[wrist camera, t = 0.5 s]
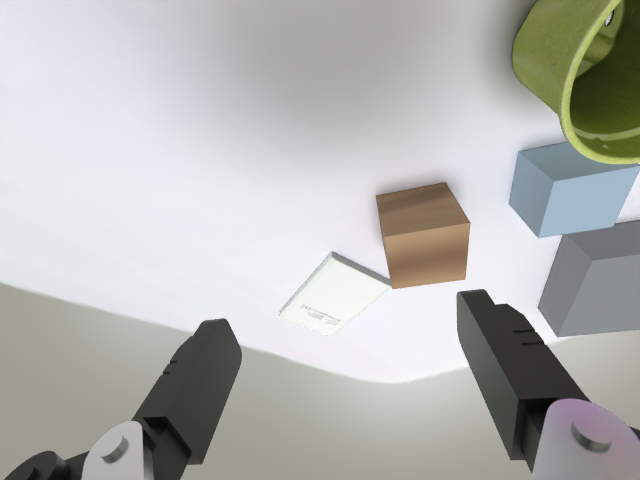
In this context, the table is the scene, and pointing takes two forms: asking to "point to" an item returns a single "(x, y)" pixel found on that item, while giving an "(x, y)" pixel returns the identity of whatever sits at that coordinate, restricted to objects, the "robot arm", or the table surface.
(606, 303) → the base plinth
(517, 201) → the blue cube
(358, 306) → the external hard drive
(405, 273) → the walnut cube
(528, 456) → the robot arm
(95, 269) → the table surface
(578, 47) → the plant pot
